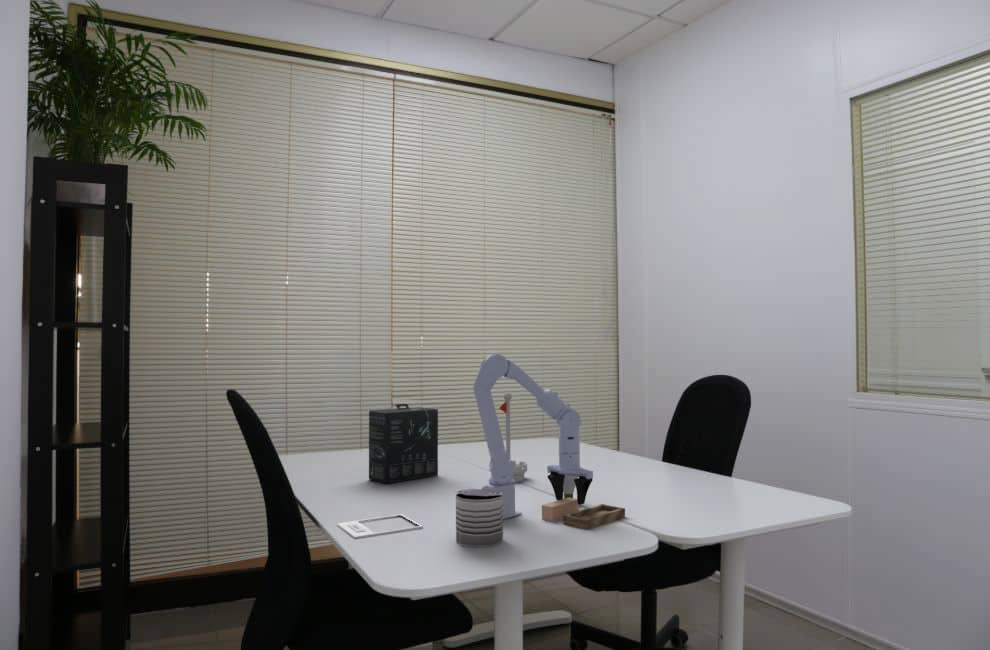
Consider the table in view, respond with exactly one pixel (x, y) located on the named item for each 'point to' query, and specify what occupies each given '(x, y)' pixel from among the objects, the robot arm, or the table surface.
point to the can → (479, 517)
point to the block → (559, 509)
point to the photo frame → (361, 531)
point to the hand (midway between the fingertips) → (570, 501)
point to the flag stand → (522, 466)
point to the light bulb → (569, 486)
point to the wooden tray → (593, 516)
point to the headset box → (403, 444)
